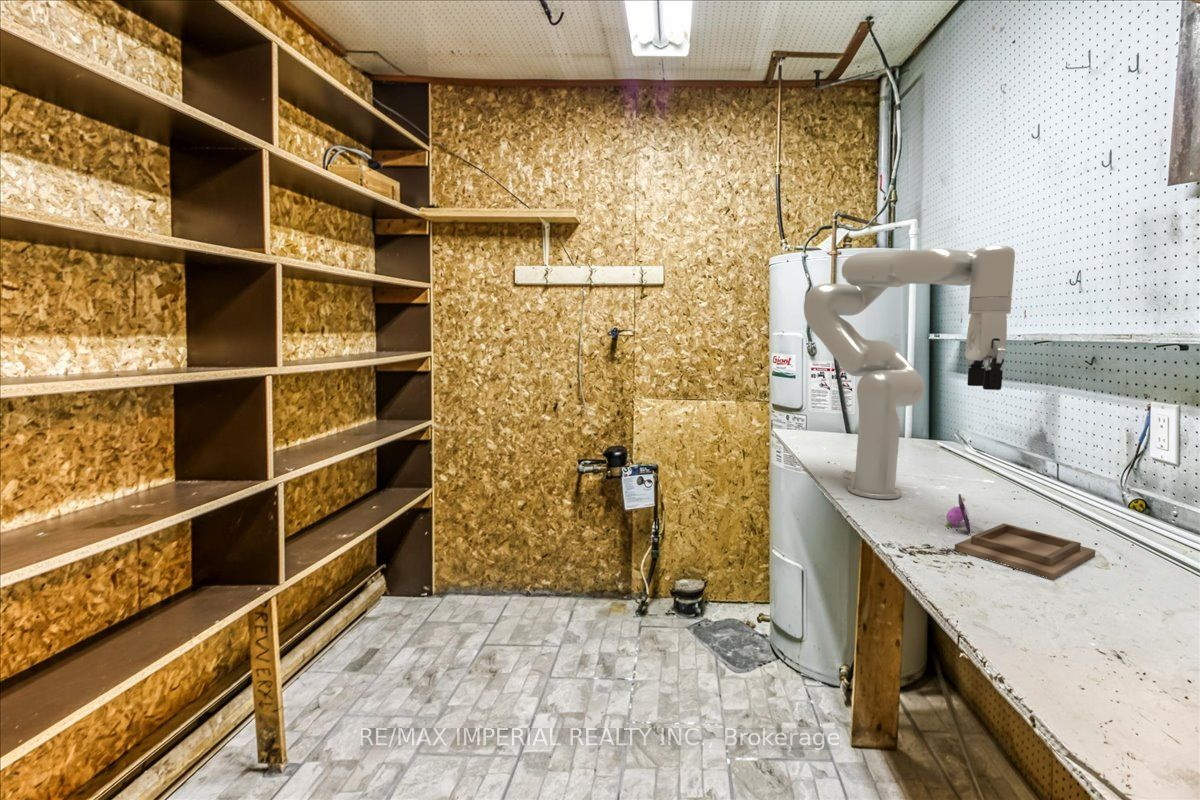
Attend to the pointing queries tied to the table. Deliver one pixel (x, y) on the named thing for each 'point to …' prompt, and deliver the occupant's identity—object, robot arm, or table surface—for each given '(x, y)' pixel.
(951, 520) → the purple figure with panel
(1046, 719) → the table surface
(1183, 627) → the table surface
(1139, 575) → the table surface
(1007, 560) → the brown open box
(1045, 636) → the table surface
